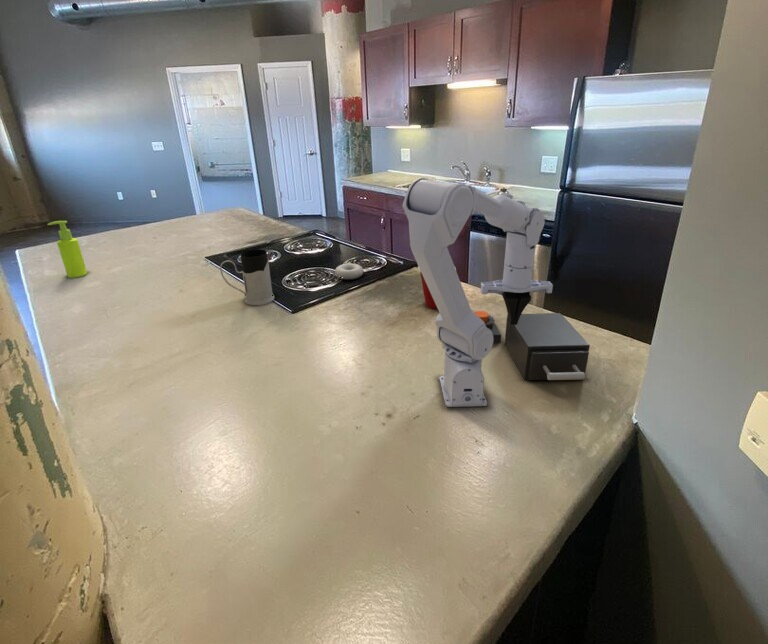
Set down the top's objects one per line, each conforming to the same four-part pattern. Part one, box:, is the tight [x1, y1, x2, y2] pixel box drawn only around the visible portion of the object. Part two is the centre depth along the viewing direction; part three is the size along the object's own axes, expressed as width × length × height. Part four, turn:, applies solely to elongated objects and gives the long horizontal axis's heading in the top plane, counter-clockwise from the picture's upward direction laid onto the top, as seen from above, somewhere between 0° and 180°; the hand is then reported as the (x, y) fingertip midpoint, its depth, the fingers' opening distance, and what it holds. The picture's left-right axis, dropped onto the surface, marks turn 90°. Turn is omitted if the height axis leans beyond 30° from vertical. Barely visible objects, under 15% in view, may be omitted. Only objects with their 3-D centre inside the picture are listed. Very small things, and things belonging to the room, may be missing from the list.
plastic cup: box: [417, 265, 457, 310], centre depth 120 cm, size 11×11×12 cm
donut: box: [334, 262, 364, 281], centre depth 145 cm, size 10×4×10 cm
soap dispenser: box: [47, 220, 88, 279], centre depth 148 cm, size 6×7×20 cm
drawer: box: [528, 349, 590, 381], centre depth 89 cm, size 18×11×6 cm, turn 1°
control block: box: [485, 314, 502, 344], centre depth 105 cm, size 10×8×4 cm
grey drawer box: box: [504, 312, 591, 381], centre depth 93 cm, size 15×13×8 cm
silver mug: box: [219, 248, 276, 306], centre depth 125 cm, size 9×14×15 cm, turn 112°
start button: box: [473, 310, 489, 323], centre depth 105 cm, size 4×4×2 cm
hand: (512, 322), depth 90 cm, fingers closed
